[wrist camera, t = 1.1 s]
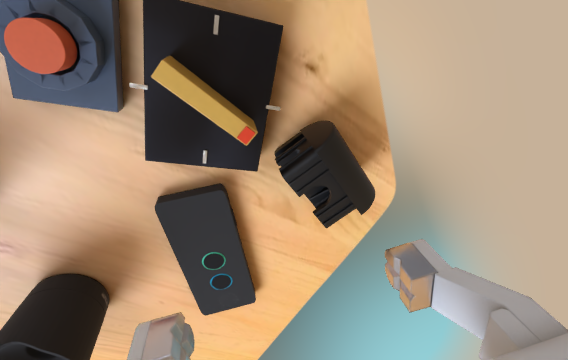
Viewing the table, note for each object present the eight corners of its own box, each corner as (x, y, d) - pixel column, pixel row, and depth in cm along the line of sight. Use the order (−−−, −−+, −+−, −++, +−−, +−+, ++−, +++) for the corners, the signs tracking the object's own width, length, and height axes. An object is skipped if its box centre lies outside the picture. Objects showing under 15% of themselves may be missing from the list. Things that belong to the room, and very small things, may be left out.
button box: (-2, -42, 21) (-39, -53, 18) (118, -13, 23) (102, -19, 20) (24, 94, 25) (-2, 103, 22) (123, 108, 27) (111, 118, 24)
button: (17, 12, 20) (-3, 11, 19) (74, 24, 21) (61, 24, 20) (26, 65, 22) (9, 68, 20) (80, 74, 23) (68, 78, 21)
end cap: (359, 172, 36) (386, 200, 31) (314, 203, 37) (331, 236, 32) (320, 111, 32) (343, 130, 26) (269, 149, 33) (280, 176, 27)
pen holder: (95, 327, 40) (61, 409, 32) (18, 308, 36) (-46, 396, 28) (126, 284, 38) (98, 361, 29) (47, 259, 34) (-13, 340, 25)
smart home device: (201, 317, 41) (150, 205, 31) (202, 307, 42) (153, 197, 33) (257, 302, 42) (225, 189, 32) (256, 293, 43) (225, 182, 33)
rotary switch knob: (159, 70, 24) (149, 77, 21) (169, 54, 23) (161, 59, 20) (244, 133, 28) (246, 147, 25) (254, 120, 27) (258, 133, 24)
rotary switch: (136, -9, 24) (125, -13, 21) (288, 28, 27) (296, 28, 24) (140, 147, 30) (132, 160, 27) (263, 161, 33) (267, 173, 30)
